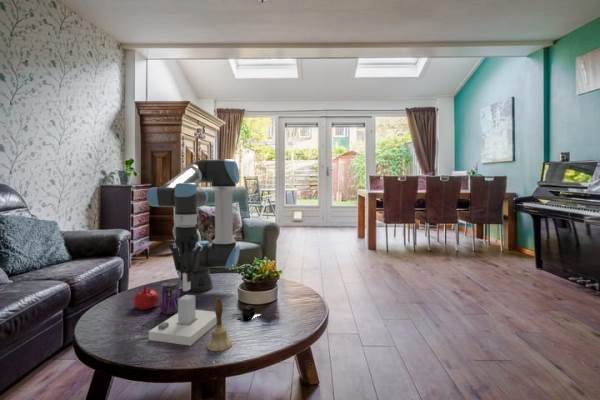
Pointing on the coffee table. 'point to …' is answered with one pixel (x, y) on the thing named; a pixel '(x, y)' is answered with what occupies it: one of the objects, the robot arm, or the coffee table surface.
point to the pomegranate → (145, 299)
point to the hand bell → (219, 332)
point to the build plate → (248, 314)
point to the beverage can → (169, 297)
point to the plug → (186, 310)
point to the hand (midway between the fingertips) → (186, 289)
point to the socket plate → (183, 329)
